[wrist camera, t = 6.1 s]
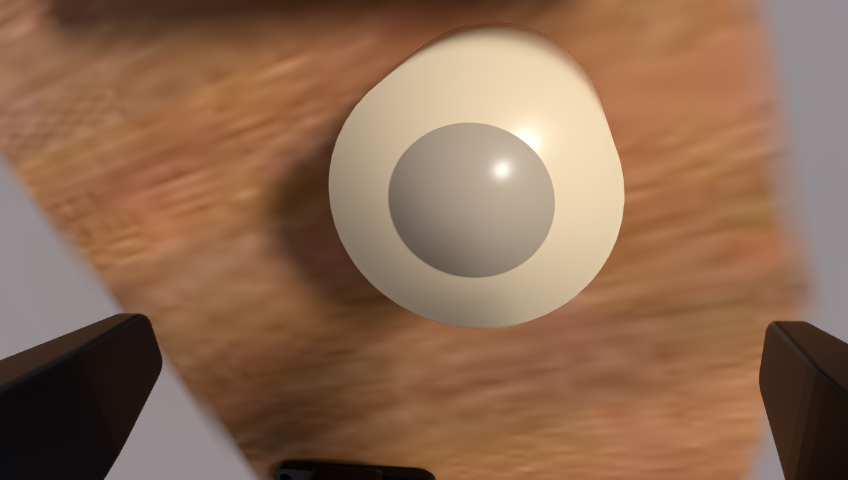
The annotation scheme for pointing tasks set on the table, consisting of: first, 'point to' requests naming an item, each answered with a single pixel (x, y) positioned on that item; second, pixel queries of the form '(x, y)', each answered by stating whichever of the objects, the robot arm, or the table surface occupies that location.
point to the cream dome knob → (479, 179)
